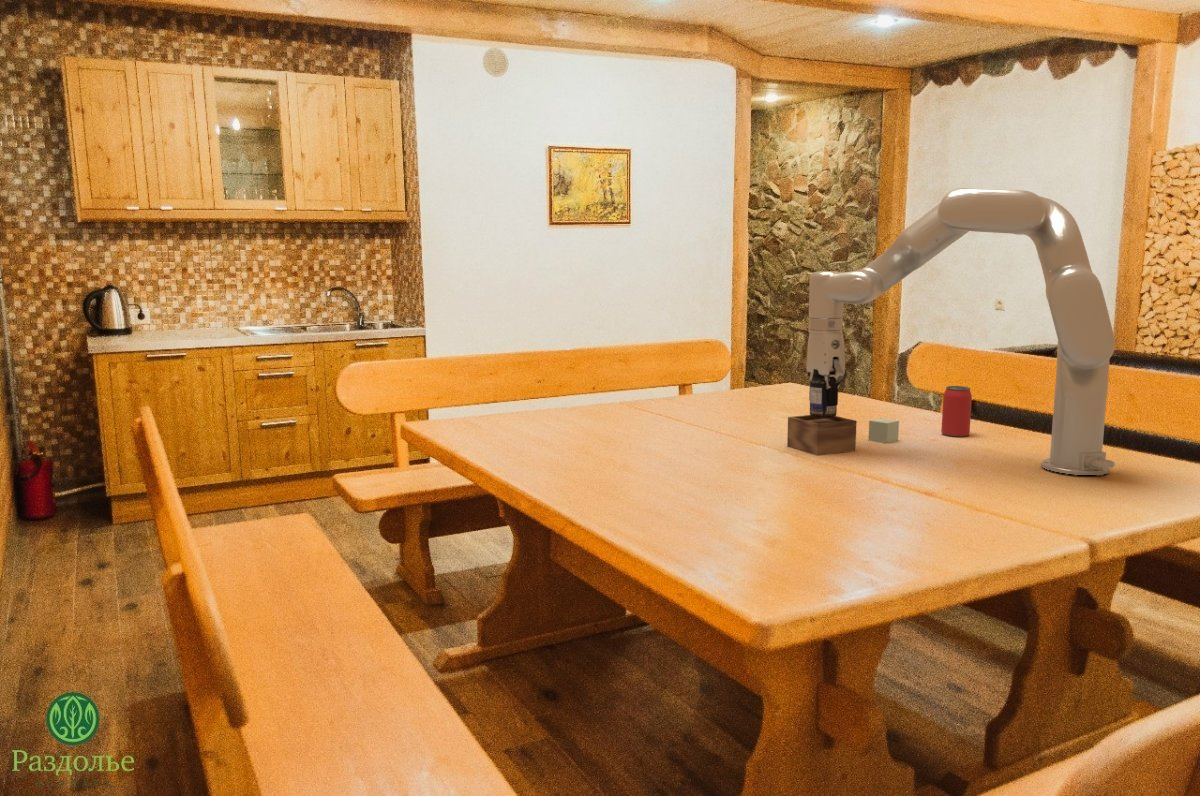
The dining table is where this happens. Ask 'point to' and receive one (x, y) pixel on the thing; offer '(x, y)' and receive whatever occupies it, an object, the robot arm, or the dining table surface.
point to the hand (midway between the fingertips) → (823, 402)
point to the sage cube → (883, 430)
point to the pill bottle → (819, 397)
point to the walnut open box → (821, 434)
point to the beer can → (956, 411)
